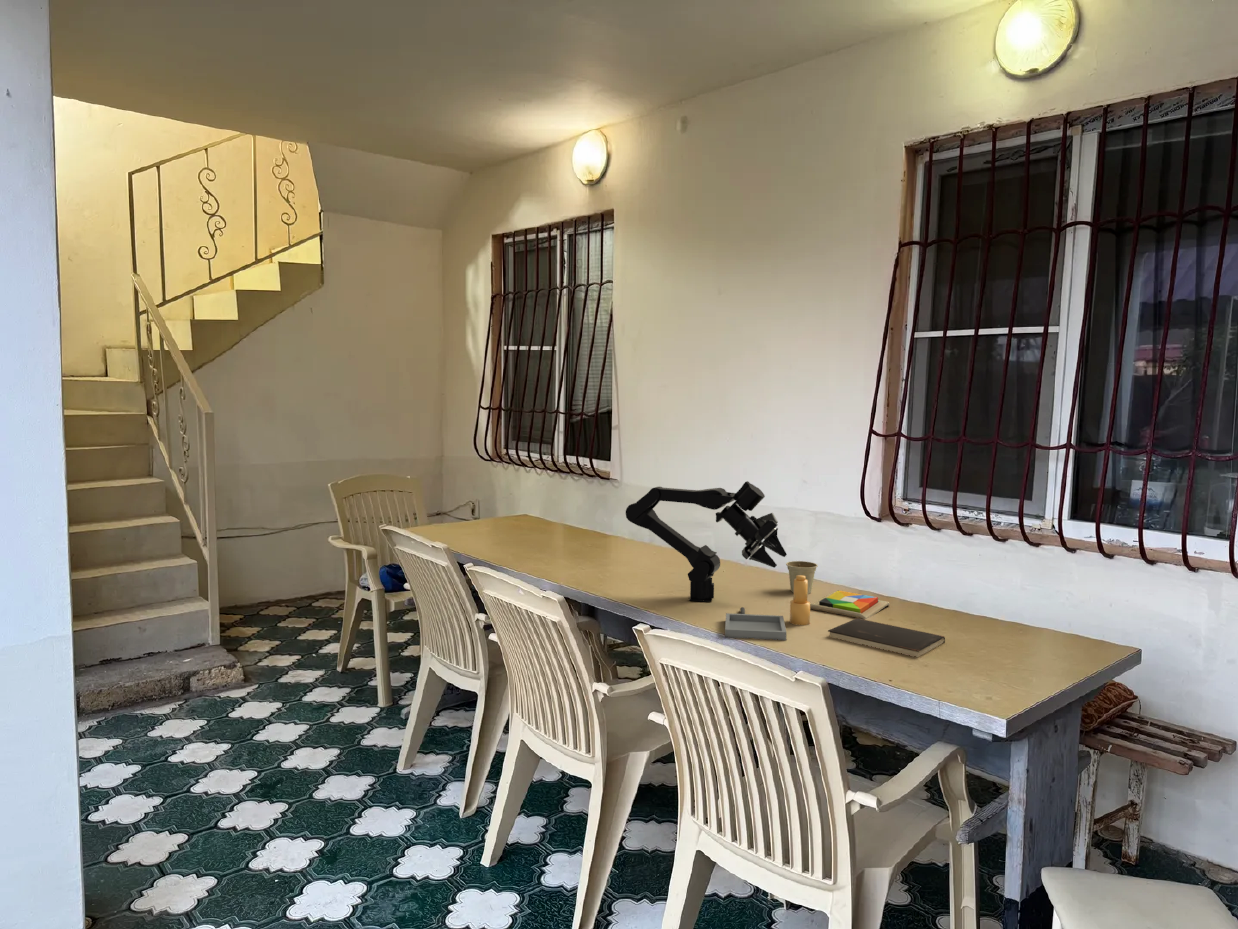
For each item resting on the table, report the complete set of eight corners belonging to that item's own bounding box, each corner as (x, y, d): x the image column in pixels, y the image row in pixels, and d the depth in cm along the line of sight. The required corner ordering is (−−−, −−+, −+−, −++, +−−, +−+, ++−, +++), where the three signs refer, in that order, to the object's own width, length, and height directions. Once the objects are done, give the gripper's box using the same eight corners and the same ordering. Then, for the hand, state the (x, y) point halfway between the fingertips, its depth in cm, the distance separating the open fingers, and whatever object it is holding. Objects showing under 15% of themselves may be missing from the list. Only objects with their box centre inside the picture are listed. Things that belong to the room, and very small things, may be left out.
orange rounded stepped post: (790, 624, 214) (791, 578, 213) (789, 619, 219) (790, 573, 218) (810, 625, 213) (811, 578, 212) (808, 620, 218) (810, 574, 217)
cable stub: (740, 620, 217) (740, 616, 217) (740, 610, 227) (740, 606, 227) (745, 621, 217) (745, 616, 217) (744, 610, 227) (744, 606, 227)
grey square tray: (725, 637, 203) (725, 629, 202) (725, 620, 217) (725, 613, 217) (786, 640, 200) (786, 632, 200) (782, 623, 215) (783, 615, 215)
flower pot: (817, 596, 244) (818, 568, 243) (785, 594, 245) (786, 566, 245) (816, 589, 253) (817, 561, 252) (785, 587, 255) (786, 560, 254)
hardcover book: (917, 660, 188) (918, 650, 188) (827, 639, 203) (828, 630, 203) (944, 644, 199) (945, 635, 199) (857, 626, 215) (858, 617, 215)
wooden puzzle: (805, 610, 230) (805, 598, 230) (834, 597, 244) (834, 586, 244) (864, 622, 219) (864, 609, 219) (891, 608, 233) (891, 595, 233)
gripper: (768, 492, 228) (809, 532, 224) (750, 517, 244) (788, 554, 240) (742, 516, 223) (783, 557, 220) (725, 540, 240) (764, 578, 236)
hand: (780, 561), depth 229 cm, fingers open, 9 cm apart
